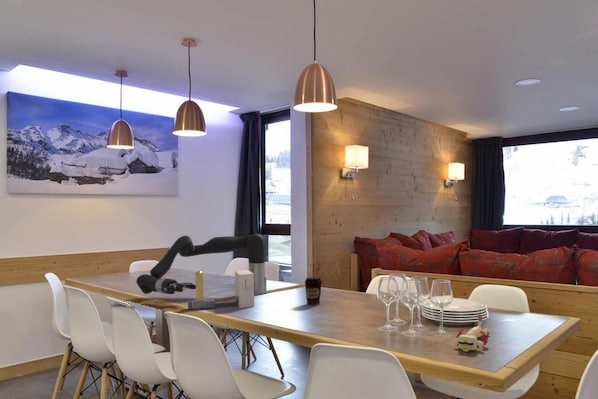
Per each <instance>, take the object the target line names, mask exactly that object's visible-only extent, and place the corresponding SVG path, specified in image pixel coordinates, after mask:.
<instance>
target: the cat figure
mask: <svg viewBox="0 0 598 399" xmlns="http://www.w3.org/2000/svg"><path fill="white" fill-rule="evenodd" d="M477 319H478V323H477V326H476V325H475V326H474V327H473V328H471V329H469V330H468V331H467V332H466V333H465V334H463V333H462V332H464V330H465V329H467V327H464V328H461V329H460V330H459V331H458V334H456V336H455V339H453V343H454V344H456V345H457V344H458V345H457V347H458V348H459V349H461V350H462V351H463V352H466V353H467V352H469V351H475V350H476V351H477V350H479V348H482V347H484V346H487V345H486V344H488V342H489V340H488V339H487V337H488V336H490V331H489V330H488V329H489V328H487V327H484V328H483V327H482V323H483V317H482V314H478V315H477ZM478 338H480V339H481V340H482V341H481V340H478Z"/></svg>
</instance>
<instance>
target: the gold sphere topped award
mask: <svg viewBox="0 0 598 399" xmlns="http://www.w3.org/2000/svg"><path fill="white" fill-rule="evenodd" d="M203 276H204V274H203V272H202V271H201V270H197V271H196V272H195V285H196V289H195V299H192V302H193V305H194V309H193V310H201V308H204V309H214V308H213V307H215V302H216V300H215V299H214V297H212V298H211V297H210V298H204V277H203Z"/></svg>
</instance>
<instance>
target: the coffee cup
mask: <svg viewBox="0 0 598 399" xmlns="http://www.w3.org/2000/svg"><path fill="white" fill-rule="evenodd" d="M322 282H323V281H322V279H321V277H318V276H315V277H314V276H313V277H312V276H311V277H306V279H305V281H304V285H305V286H304V287H305V295H306V296H305V298H306V304H307V305H309V306H318V305H321V300H320V299H321V295H322Z"/></svg>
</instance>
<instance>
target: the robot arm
mask: <svg viewBox="0 0 598 399" xmlns="http://www.w3.org/2000/svg"><path fill="white" fill-rule="evenodd" d="M266 244H267V241H266V237H265V236H264V235H262V234H261V233H255V234H249V235H245V236H244V235H243V236H229V235H228V236H215V237H212V238H211V239H210V240H207V241H206V242H205V243H203V244H195V245H194V243H193V241H192V238H191V237H190V236H189V235H182V236H179V238H177V239H176V241H174V242H173V244H172V246H171V247H170V248H169V249H168V251H167V252H166V254H165V255H164V256H163V257H162V259H160V260H159V262H157V263H156V264H155V265H154V266H153V267H152V268H151V269H150V270H149V274H148V273H147V274H146V273H145V274H144V273H143V274H141V275H139V276H138V277H137V278H136V279H135V280H136V285H137V286H138V288H139V289H140V291H141V292H142V293H143V294H145V295H148V294H151V293H152V292H155V293H159V294H165V295H166V294H167V295H173V294H175V293H183V292H184V291H186V290H196V284H193V282H178V281H177V280H176V279H173V278H163V277H164V276H165V275H166V274H167V272H169V271H170V269H171V267H172V265H173V264H174V261H175V258H176V257H177V256H178V254H179V256H181V257H183V258H189V257H194V256H200V255H208V254H209V255H210V254H211V255H212V254H224V253H225V254H226V253H232V252H236V251H239V250H240V251H241V250H247V255H246V256H247V260H248V270H249V271H250V272H252V273H253V274H254V296H255V295H256V296H257V295H265V294H267V293H268V292H267V289H268V288H267V276H266V258H265V252H264V247H265V246H266Z"/></svg>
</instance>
